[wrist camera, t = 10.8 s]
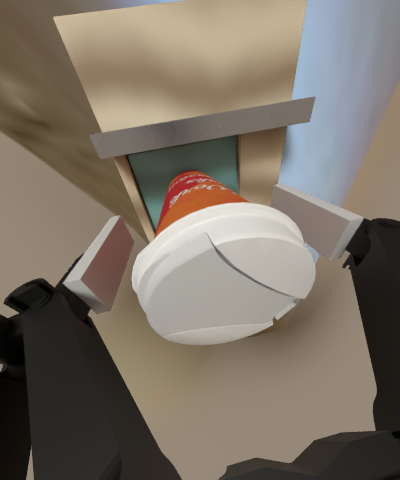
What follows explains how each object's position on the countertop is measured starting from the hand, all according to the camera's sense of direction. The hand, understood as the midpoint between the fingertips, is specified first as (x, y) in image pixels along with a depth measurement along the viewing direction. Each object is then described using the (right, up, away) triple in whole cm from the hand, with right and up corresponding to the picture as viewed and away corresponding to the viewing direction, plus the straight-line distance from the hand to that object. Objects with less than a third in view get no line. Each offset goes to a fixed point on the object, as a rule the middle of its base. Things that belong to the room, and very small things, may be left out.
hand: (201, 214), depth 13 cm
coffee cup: (-1, +3, +6) cm, 7 cm away
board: (0, +7, +4) cm, 8 cm away
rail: (0, +8, +1) cm, 9 cm away
